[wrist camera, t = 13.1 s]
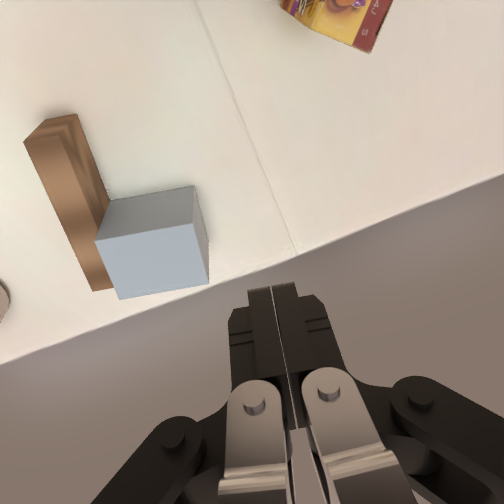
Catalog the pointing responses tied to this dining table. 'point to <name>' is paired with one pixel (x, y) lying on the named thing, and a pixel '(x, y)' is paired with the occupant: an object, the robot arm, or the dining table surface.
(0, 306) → the can
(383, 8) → the candy box
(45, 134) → the board
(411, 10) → the dining table surface
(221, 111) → the dining table surface
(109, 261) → the block
